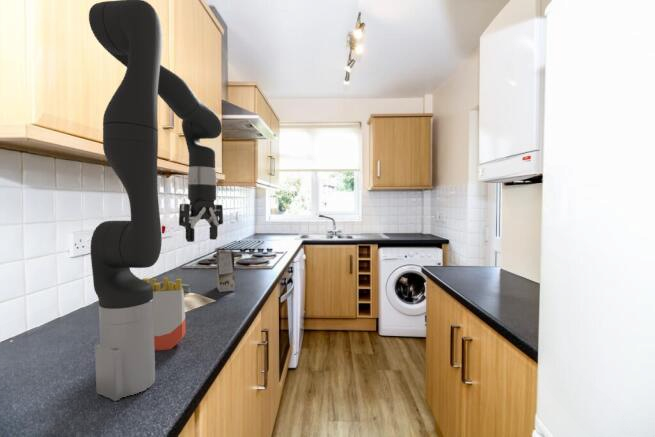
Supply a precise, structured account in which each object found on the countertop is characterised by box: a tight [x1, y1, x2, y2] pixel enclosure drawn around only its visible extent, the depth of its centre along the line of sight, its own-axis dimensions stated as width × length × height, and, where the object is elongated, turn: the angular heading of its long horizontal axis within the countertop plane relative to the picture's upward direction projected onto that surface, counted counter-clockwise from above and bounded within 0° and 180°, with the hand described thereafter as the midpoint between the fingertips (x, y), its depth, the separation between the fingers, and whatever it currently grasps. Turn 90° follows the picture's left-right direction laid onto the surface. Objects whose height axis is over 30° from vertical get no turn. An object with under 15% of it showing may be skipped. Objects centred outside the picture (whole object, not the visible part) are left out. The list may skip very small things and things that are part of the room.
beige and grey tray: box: [159, 280, 217, 313], centre depth 119 cm, size 20×28×5 cm
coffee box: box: [216, 248, 236, 293], centre depth 138 cm, size 9×6×16 cm
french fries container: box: [141, 277, 186, 351], centre depth 83 cm, size 5×11×18 cm, turn 102°
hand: (202, 240), depth 94 cm, fingers open, 8 cm apart
